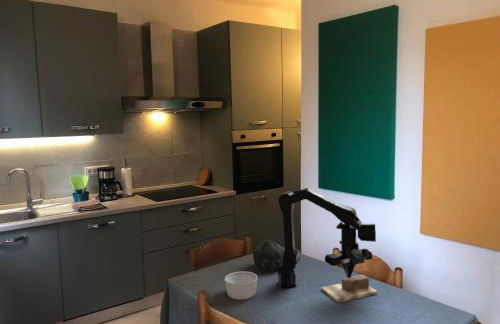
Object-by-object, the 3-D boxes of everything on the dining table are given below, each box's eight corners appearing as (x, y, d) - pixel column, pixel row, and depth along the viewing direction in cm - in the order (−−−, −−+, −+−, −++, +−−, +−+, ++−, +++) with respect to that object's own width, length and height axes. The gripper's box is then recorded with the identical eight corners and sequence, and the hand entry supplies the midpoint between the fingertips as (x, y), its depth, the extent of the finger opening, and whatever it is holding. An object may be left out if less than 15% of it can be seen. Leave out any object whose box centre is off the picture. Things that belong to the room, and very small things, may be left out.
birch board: (337, 302, 153) (337, 299, 153) (321, 290, 164) (321, 287, 164) (377, 294, 159) (377, 291, 159) (359, 282, 170) (359, 279, 170)
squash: (272, 248, 201) (257, 230, 193) (295, 256, 190) (280, 238, 182) (257, 272, 195) (241, 255, 187) (279, 281, 184) (263, 264, 176)
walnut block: (347, 282, 158) (369, 277, 162) (341, 278, 162) (363, 274, 166) (347, 291, 159) (369, 287, 162) (341, 287, 162) (363, 283, 166)
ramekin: (219, 298, 159) (219, 282, 158) (232, 285, 171) (232, 269, 170) (251, 303, 154) (250, 286, 154) (262, 289, 167) (261, 273, 166)
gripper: (339, 249, 148) (339, 289, 150) (381, 242, 154) (381, 281, 156) (323, 240, 159) (324, 278, 160) (363, 234, 165) (363, 271, 167)
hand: (348, 277), depth 161 cm, fingers closed
